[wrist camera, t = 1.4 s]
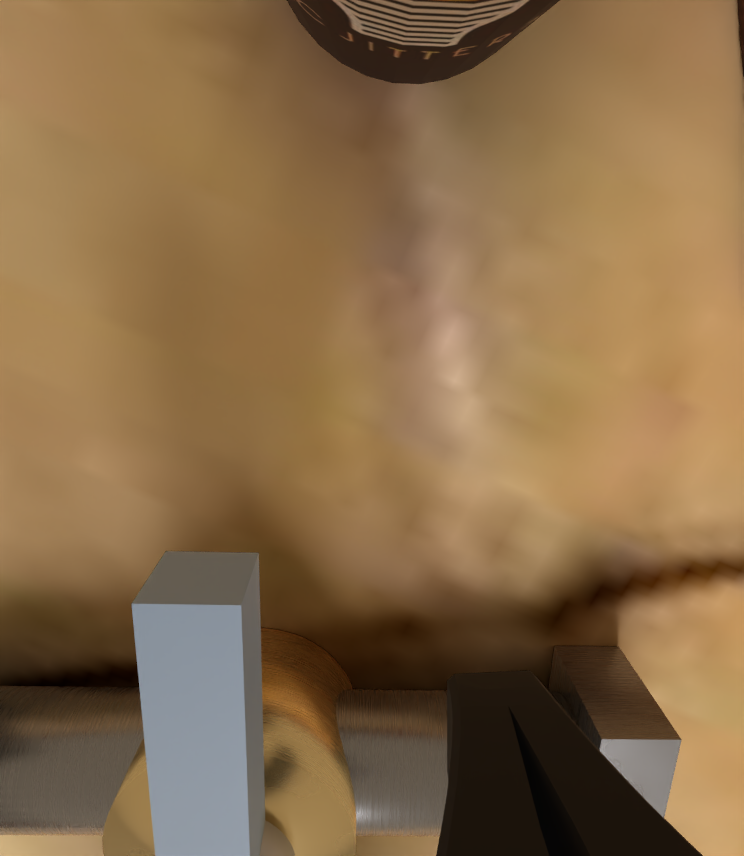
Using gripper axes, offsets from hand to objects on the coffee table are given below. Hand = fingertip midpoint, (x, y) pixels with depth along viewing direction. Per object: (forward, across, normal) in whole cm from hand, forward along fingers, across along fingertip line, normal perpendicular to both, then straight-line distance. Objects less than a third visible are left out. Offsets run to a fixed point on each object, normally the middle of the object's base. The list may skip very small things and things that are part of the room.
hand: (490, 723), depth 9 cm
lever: (+3, +5, +3) cm, 7 cm away
